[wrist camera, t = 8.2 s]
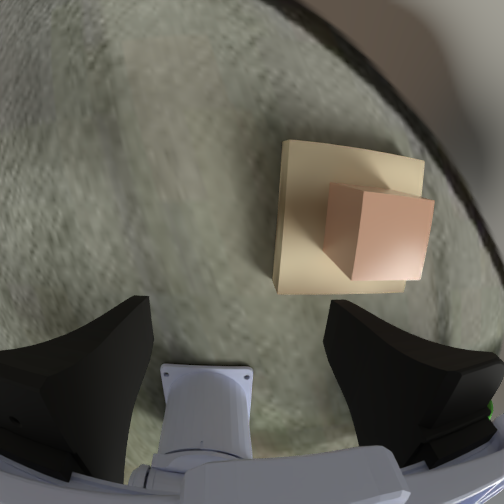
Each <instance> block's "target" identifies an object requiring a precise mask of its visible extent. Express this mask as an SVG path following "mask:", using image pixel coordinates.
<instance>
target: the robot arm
mask: <svg viewBox="0 0 504 504" xmlns="http://www.w3.org/2000/svg"><path fill="white" fill-rule="evenodd" d="M153 342H154V336H153V329H152V321H151V312H150V303H149V296H135V295H134V296H132V297H130V298H129V299H127V300H125V301H124V302H122V303H121V304H119V305H117V306H116V307H114V308H113V309H111V310H110V311H108V312H107V313H105V314H104V315H102V316H100V317H98V318H97V319H95V320H93V321H92V322H90V323H88V324H86V325H85V326H83V327H81V328H79V329H77V330H75V331H72V332H70V333H68V334H66V335H63V336H60V337H58V338H55V339H52V340H49V341H46V342H43V343H40V344H36V345H32V346H27V347H23V348H17V349H11V350H2V351H0V504H483V503H485V502H486V501H488V500H489V499H491V498H492V497H493V496H495V495H496V494H498V493H499V492H500V491H501V490H503V489H504V413H503V414H502V415H500V416H498V417H497V418H496V419H494V420H493V421H492V422H491V421H490V419H489V418H488V416H490V414H491V410H490V409H489V408H488V407H487V405H488V404H489V402H490V401H491V399H492V397H493V396H494V394H495V392H496V391H497V389H498V387H499V386H500V384H501V382H502V380H503V377H504V362H503V361H502V360H501V359H500V358H499V357H498V356H497V355H496V354H494V353H493V352H483V351H472V350H465V349H459V348H454V347H450V346H445V345H442V344H438V343H435V342H431V341H428V340H425V339H422V338H420V337H417V336H415V335H412V334H410V333H408V332H405V331H403V330H401V329H399V328H397V327H395V326H393V325H391V324H389V323H387V322H385V321H384V320H382V319H380V318H378V317H376V316H375V315H373V314H371V313H370V312H368V311H366V310H364V309H363V308H361V307H359V306H357V305H356V304H354V303H352V302H350V301H347V300H331V304H330V309H329V315H328V320H327V325H326V330H325V334H324V339H323V344H324V347H325V351H326V355H327V358H328V361H329V364H330V366H331V368H332V370H333V373H334V375H335V377H336V379H337V382H338V384H339V386H340V388H341V390H342V393H343V395H344V397H345V399H346V402H347V404H348V407H349V409H350V413H351V416H352V420H353V423H354V427H355V430H356V434H357V439H358V443H359V447H353V448H348V449H342V450H336V451H330V452H324V453H316V454H308V455H299V456H289V457H276V458H258V459H253V457H252V448H251V438H250V429H249V418H250V406H251V393H252V380H253V369H252V368H251V367H248V366H200V365H180V364H162V365H161V368H160V372H161V378H162V384H163V390H164V396H165V401H166V409H165V415H164V420H163V425H162V431H161V436H160V442H159V448H158V454H153V459H152V465H151V467H150V466H149V465H145V464H142V465H140V466H139V467H138V468H136V469H135V470H133V472H132V474H131V476H130V479H129V482H128V485H124V484H123V481H124V466H125V456H126V447H127V440H128V433H129V427H130V422H131V417H132V411H133V408H134V404H135V401H136V398H137V395H138V392H139V389H140V386H141V383H142V380H143V378H144V375H145V372H146V369H147V366H148V363H149V361H150V356H151V352H152V347H153ZM165 372H166V373H168V374H166V373H165ZM246 375H249V376H248V377H245V376H246Z"/></svg>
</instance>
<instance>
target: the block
mask: <svg viewBox="0 0 504 504" xmlns="http://www.w3.org/2000/svg"><path fill="white" fill-rule="evenodd" d="M434 202H435V201H434V200H430V199H426V198H423V197H419V196H415V195H412V194H408V193H404V192H400V191H396V190H392V189H386V188H378V187H370V186H362V185H353V184H344V183H335V182H330V186H329V197H328V207H327V217H326V226H325V235H324V243H323V252H324V253H325V254H326V255H327V256H328V257H329V258H330V259H331V260H332V261H333V262H334V263H335V264H336V265H337V266H338V267H339V269H340V270H341V271H342V272H343V273H344V274H345V275H346V276H347V277H348V278H349V279H350V280H351V281H385V280H420V278H421V274H422V270H423V265H424V260H425V256H426V251H427V246H428V240H429V235H430V229H431V223H432V216H433V210H434Z"/></svg>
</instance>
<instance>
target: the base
mask: <svg viewBox="0 0 504 504" xmlns="http://www.w3.org/2000/svg"><path fill="white" fill-rule="evenodd" d="M424 162H425V161H422V160H418V159H413V158H409V157H404V156H399V155H394V154H389V153H384V152H378V151H372V150H367V149H361V148H354V147H348V146H341V145H334V144H326V143H318V142H309V141H300V140H286V141H283V142H282V154H281V170H280V185H279V200H278V214H277V227H276V241H275V253H274V266H273V277H272V280H273V283H274V286H275V289H276V291H277V294H369V293H400V292H404V288H405V284H406V280H385V281H351V280H350V279H349V278H348V277H347V276H346V275H345V274H344V273H343V272H342V271H341V270H340V269H339V267H338V266H337V265H336V264H335V263H334V262H333V261H332V260H331V259H330V258H329V257H328V256H327V255H326V254H325V253H324V252H323V243H324V235H325V226H326V217H327V207H328V197H329V186H330V182H335V183H344V184H353V185H362V186H370V187H378V188H386V189H392V190H396V191H400V192H404V193H408V194H412V195H415V196H419V197H421V193H422V184H423V174H424Z"/></svg>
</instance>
